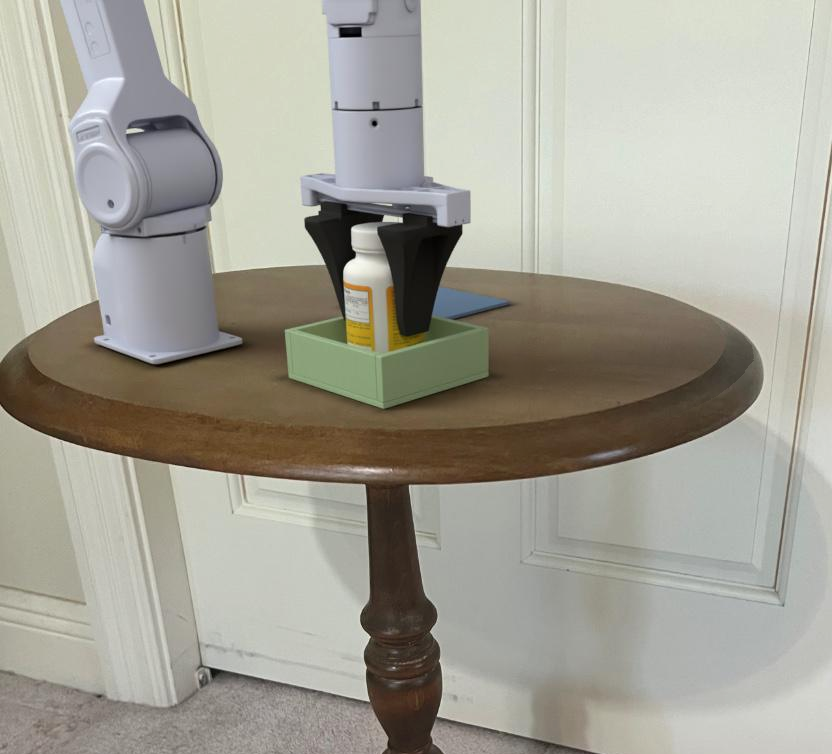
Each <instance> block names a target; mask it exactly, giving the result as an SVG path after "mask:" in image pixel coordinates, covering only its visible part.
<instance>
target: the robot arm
mask: <svg viewBox="0 0 832 754" xmlns="http://www.w3.org/2000/svg"><path fill="white" fill-rule="evenodd" d="M59 2H60V5H61V8H62V12H63V15H64V18H65V22H66V25H67V29H68V31H69V35H70V37H71V42H72V45H73V48H74V51H75V54H76V57H77V61H78V65H79V67H80V71H81V74H82V78H83V81H84V84H85V87H86V90H87V93H86V94H87V95H86V96H85V98H84V99H83V102H82V103H81V105H80V106H79V107H78V109H77V111H76V112H75V114H73V116H72V118H71V119H70V121H69V123H68V126H67V131H68V134H69V137H70V140H71V144H72V147H73V153H74V154H73V155H74V182H75V188H76V190H77V194H78V197H79V199H80V202H81V204H82V205H83V208H84V209H85V211H86V213H87V214H88V215H89V216H90V218H92V219H93V220H94V221H95V222H96V223H97V224H98V226H99V231H100V234H101V235H100V236H99V237H98V239H97V240H96V244H95V246H94V249H93V254H92V267H93V273H94V279H95V286H96V292H97V298H98V304H99V310H100V317H101V323H102V328H103V334H102V335H98V336H97V335H96V336H95V337H93V340H94V343H95V344H96V345H99V346H101V347H105V348H106V349H109V350H113V351H115V352H118V353H121V354H124V355H126V356H129V357H132V358H135V359H137V360H140V361H143V362H145V363H148V364H151V365H161V364H165V363H169V362H174V361H178V360H182V359H187V358H191V357H195V356H199V355H203V354H207V353H211V352H215V351H219V350H224V349H228V348H232V347H238V346H240V345H243V338H242V337H240V336H237V335H234V334H230V333H227V332H223V331H220V329H219V320H218V313H217V303H216V295H215V285H214V277H213V268H212V259H211V251H210V250H211V249H210V241H209V233H208V226H207V223H209V222H212V221H213V218H212V210H211V209H212V208H213V206H214V205H215V204H216V203H217V201H218V200H219V197H220V195H221V192H222V189H223V183H224V170H223V164H222V159H221V156H220V153H219V152H218V149H217V148H216V145H215V144H214V142H213V141H212V139H211V138H210V136H209V135H208V133H206V131H205V129H204V128H203V125H202V123H201V121H200V117H199V114H198V110H197V107H196V104H195V102H194V101H193V100H192V99H191V98H190V97H188V95H186V94H185V93H184V92H183V91H182V90H181V89H180V88H179V87H177V86H176V85H175V84H174V83H172V81H171V80H170V79H168V77H167V76H166V75H165V72H164V68H163V65H162V61H161V58H160V55H159V51H158V47H157V44H156V43H157V42H156V40H155V37H154V32H153V30H152V25H151V22H150V19H149V15H148V12H147V8H146V3H145V0H59ZM421 2H422V1H421V0H321V12H322V13H321V14H322V15H325V19H326V20H325V21H326V35H327V37H326V38H327V52H328V54H327V55H328V68H329V69H328V70H329V87H330V88H329V89H330V104H331V123H332V140H333V141H332V142H333V158H334V160H333V161H334V173H325V172H321V173H314V174H305V175H300V177H299V180H300V192H301V193H300V194H301V205H302V206H304V207H318V206H319V207H320V210H318V212H317V214H315V215H308V216H306V217H304V218H303V221H304V229H305V231H306V232H307V233H308V236H310V238H311V239H312V241H313V243H314V244H315V246H316V248H317V250H318V252H319V253H320V256H321V258H322V260H323V262H324V265H325V267H326V269H327V271H328V275H329V277H330V280H331V284H332V287H333V290H334V293H335V296H336V299H337V303H338V306H339V309H340V313H341V317H342V316H343V318H344V321H346V314H345V296H344V281H343V272H344V268H345V266H346V264H347V263H348V262H349V261H351V260H352V259H355V258H356V251H354V250H353V248H352V247H353V246H352V238H351V229H352V227H353V226H356V225H359V224H365V223H374V222H384V217H385V216H387V217H395V218H401V219H402V223H396V224H391V225H385V226H380V227H377V234H378V236H379V238H380V240H381V243H382V245H383V248H384V250H385V253H386V256H387V260H388V263H389V267H390V271H391V275H392V280H393V286H394V296H395V308H396V318H397V323H398V328H399V331H400V335H403V336H412V335H416V334H420V333H424V332H427V331H429V327H430V322H431V318H432V313H433V308H434V304H435V300H436V296H437V292H438V288H439V287H440V284H441V281H442V278H443V275H444V272H445V271H446V268H447V265H448V262H449V260H450V258H451V256H452V253H453V252H454V250H455V248H456V246H457V244H458V242H459V240H460V239H461V237H462V235H463V226H464V225H467V224H471V217H472V216H471V190H470V189H465V188H457V187H454V186H449V185H445V184H442V183H438V182H435V181H434V177H433V176H428V175H425V145H424V144H425V140H424V139H425V138H424V106H423V105H424V92H423V91H424V90H423V46H422V45H423V41H422V39H423V38H422V6H421V5H422V3H421ZM132 129H133V130H134V129H137V130H142V131H137V132H129V133H127V130H132Z"/></svg>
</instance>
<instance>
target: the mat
mask: <svg viewBox="0 0 832 754" xmlns="http://www.w3.org/2000/svg"><path fill="white" fill-rule="evenodd" d="M509 305H510V300H507V299H501V298H498V297H497V298H496V297H492V296H488V295H487V296H486V295H481V294H477V293H473V292H467V291H463V290H457V289H452V288H449V287H442V286H439V288H438V292H437V296H436V300H435V304H434V308H433V313H432V315H434V316H439V317H443V318H447V319H452V320H456V319H458V318H463V317H466V316H470V315H473V314H474V315H475V314H478V313H481V312H485V311H489V310H494V309H497V308H501V307H505V306H509Z"/></svg>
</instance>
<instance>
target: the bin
mask: <svg viewBox="0 0 832 754" xmlns="http://www.w3.org/2000/svg"><path fill="white" fill-rule="evenodd" d="M489 334H490V329H489V327H486V326H482V325H478V324H473V323H469V322H465V321H461V320H457V319H447V318H443V317H439V316H434V315H432V318H431V322H430V327H429V331H427V332H425V342H424V343H421V344H417V345H413V346H409V347H406V348H402V349H398V350H395V351H391V352H387V353H383V354H381V353H377V352H374V351H370V350H367V349H363V348H359V347H356V346H352V345H349V344H347V330H346V321H344V318H343V316H342V315H341V316H338V317H332V318H329V319H326V320H320V321H316V322H313V323H309V324H304V325H300V326H295V327H291V328H287V329H284V336H285V337H284V339H285V351H286V361H287V362H286V363H287V373H288V378H289V379H291V380H293V381H296V382H300V383H303V384H306V385H309V386H312V387H316V388H319V389H322V390H323V391H324V390H325V391H328V392H330V393H333V394H336V395H340V396H343V397H346V398H349V399H351V400H355V401H358V402H361V403H364V404H367V405H370V406H374V407H376V408H379V409H383V410H385V409H388V408H392V407H395V406H398V405H401V404H404V403H409V402H410V401H414V400H417V399H420V398H424V397H427V396H430V395H434V394H437V393H440V392H444V391H446V390H450V389H453V388H456V387H459V386H462V385H465V384H470V383H472V382H476V381H479V380H482V379H485V378H488V377H489V376H490V375H489V373H490V372H489V369H490V367H489V365H490V363H489V360H490V359H489V356H490V355H489V354H490V353H489V352H490V351H489V350H490V346H489V345H490V343H489V342H490V340H489V338H490V337H489V336H490V335H489Z"/></svg>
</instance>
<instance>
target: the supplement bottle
mask: <svg viewBox="0 0 832 754" xmlns="http://www.w3.org/2000/svg"><path fill="white" fill-rule="evenodd" d="M396 223H403V221H402V222H400V221H382V222H374V223H365V224H359V225H356V226H353V227H352V229H351V238H352V246H353V247H352V248H353V250H354V251H356V258H355V259H352V260H351V261H349V262H348V263H347V264H346V266H345V268H344V272H343V281H344V296H345V314H346V330H347V344H349V345H352V346H356V347H359V348H363V349H367V350H370V351H374V352H377V353H381V354H383V353H387V352H391V351H395V350H398V349H402V348H406V347H409V346H413V345H417V344H421V343H424V342H425V332H424V333H420V334H416V335H412V336H403V335H400V331H399V328H398V323H397V318H396V308H395V296H394V286H393V280H392V275H391V271H390V267H389V263H388V260H387V256H386V253H385V250H384V248H383V245H382V243H381V240H380V238H379V236H378V234H377V227H380V226H385V225H391V224H396Z"/></svg>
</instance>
